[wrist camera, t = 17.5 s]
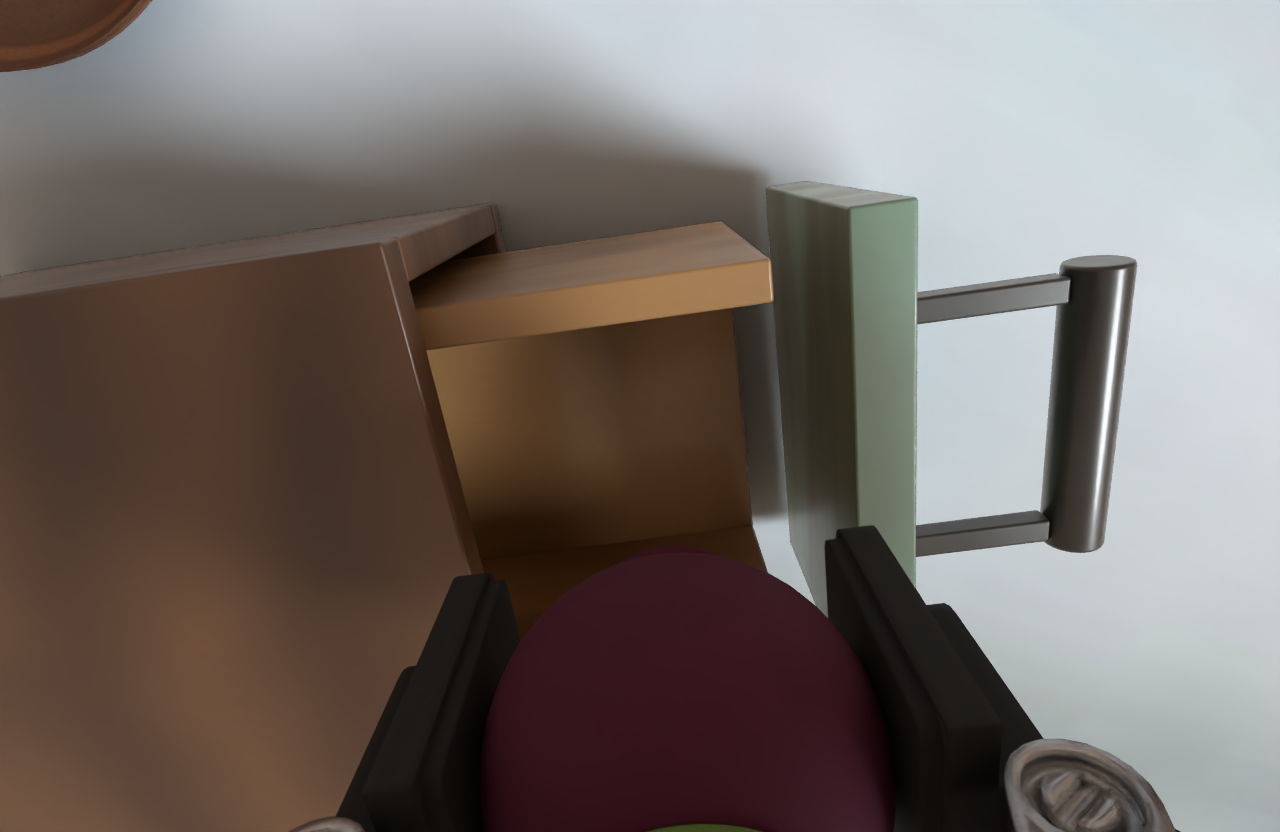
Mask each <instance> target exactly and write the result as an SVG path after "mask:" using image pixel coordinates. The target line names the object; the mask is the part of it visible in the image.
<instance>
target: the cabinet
mask: <svg viewBox="0 0 1280 832" xmlns="http://www.w3.org/2000/svg"><path fill="white" fill-rule="evenodd" d="M504 252H506V251H505V246H504V241H503V236H502V232H501V227H500V222H499V217H498V212H497V207H496V204H495V203H487V204H481V205H474V206H467V207H460V208H454V209H447V210H440V211H433V212H427V213H420V214H413V215H406V216H399V217H393V218H386V219H379V220H372V221H366V222H359V223H352V224H345V225H339V226H332V227H325V228H318V229H312V230H305V231H298V232H291V233H285V234H278V235H271V236H264V237H257V238H251V239H244V240H237V241H230V242H224V243H217V244H210V245H203V246H197V247H190V248H183V249H176V250H170V251H163V252H156V253H149V254H143V255H136V256H129V257H122V258H115V259H109V260H102V261H95V262H88V263H82V264H75V265H68V266H61V267H55V268H48V269H41V270H34V271H28V272H21V273H14V274H9V275H4V276H0V832H289V831H290V830H292V829H294V828H296V827H298V826H301V825H303V824H305V823H307V822H309V821H312V820H316V819H321V818H325V817H330V816H334V817H336V814H337V812H338V810H339V808H340V806H341V803H342V801H343V799H344V797H345V795H346V792H347V790H348V788H349V786H350V784H351V781H352V779H353V777H354V775H355V772H356V770H357V768H358V766H359V764H360V761H361V759H362V757H363V755H364V753H365V750H366V748H367V746H368V744H369V742H370V739H371V737H372V735H373V733H374V731H375V728H376V726H377V724H378V722H379V720H380V717H381V715H382V713H383V711H384V709H385V706H386V704H387V702H388V700H389V698H390V695H391V693H392V691H393V689H394V687H395V684H396V682H397V680H398V678H399V676H400V674H401V673H402V671H403V670H404V669H406V668H407V667H409V666H416V665H417V662H418V660H419V658H420V655H421V653H422V651H423V648H424V646H425V644H426V641H427V639H428V637H429V634H430V632H431V630H432V627H433V625H434V623H435V620H436V618H437V616H438V613H439V611H440V609H441V606H442V604H443V602H444V599H445V597H446V595H447V593H448V590H449V588H450V586H451V583H452V581H453V579H454V578H455V577H457V576H464V575H472V574H480V573H484V571H483V567H482V563H481V559H480V555H479V552H478V548H477V544H476V540H475V536H474V532H473V529H472V525H471V521H470V517H469V513H468V509H467V505H466V502H465V498H464V494H463V490H462V486H461V482H460V479H459V475H458V471H457V467H456V463H455V459H454V455H453V452H452V448H451V444H450V440H449V436H448V432H447V429H446V425H445V421H444V417H443V413H442V409H441V405H440V402H439V398H438V394H437V390H436V386H435V382H434V379H433V375H432V371H431V367H430V363H429V359H428V355H427V352H426V348H425V344H424V340H423V336H422V332H421V329H420V325H419V321H418V317H417V313H416V309H415V305H414V302H413V298H412V294H411V290H410V286H409V282H410V281H411V280H413V279H415V278H417V277H418V276H420V275H422V274H424V273H425V272H427V271H429V270H431V269H433V268H434V267H436V266H438V265H440V264H441V263H443V262H445V261H448V260H455V259H462V258H469V257H476V256H483V255H490V254H497V253H504Z"/></svg>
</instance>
